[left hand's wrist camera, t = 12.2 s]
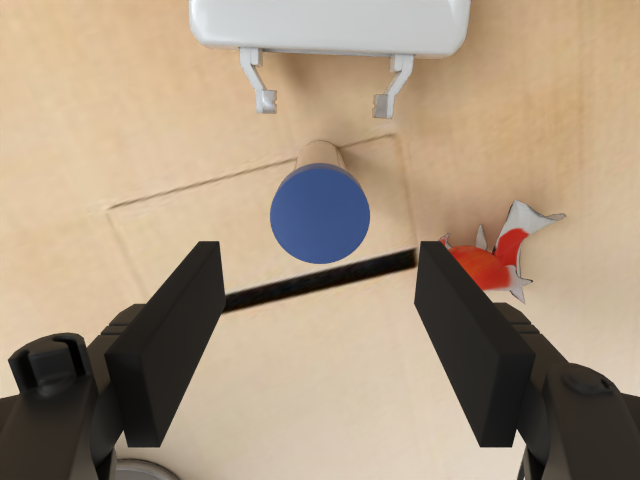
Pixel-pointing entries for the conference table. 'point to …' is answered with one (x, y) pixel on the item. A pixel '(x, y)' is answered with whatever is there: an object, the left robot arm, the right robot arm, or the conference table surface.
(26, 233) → the conference table surface
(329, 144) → the jar
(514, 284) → the fish
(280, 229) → the lid
